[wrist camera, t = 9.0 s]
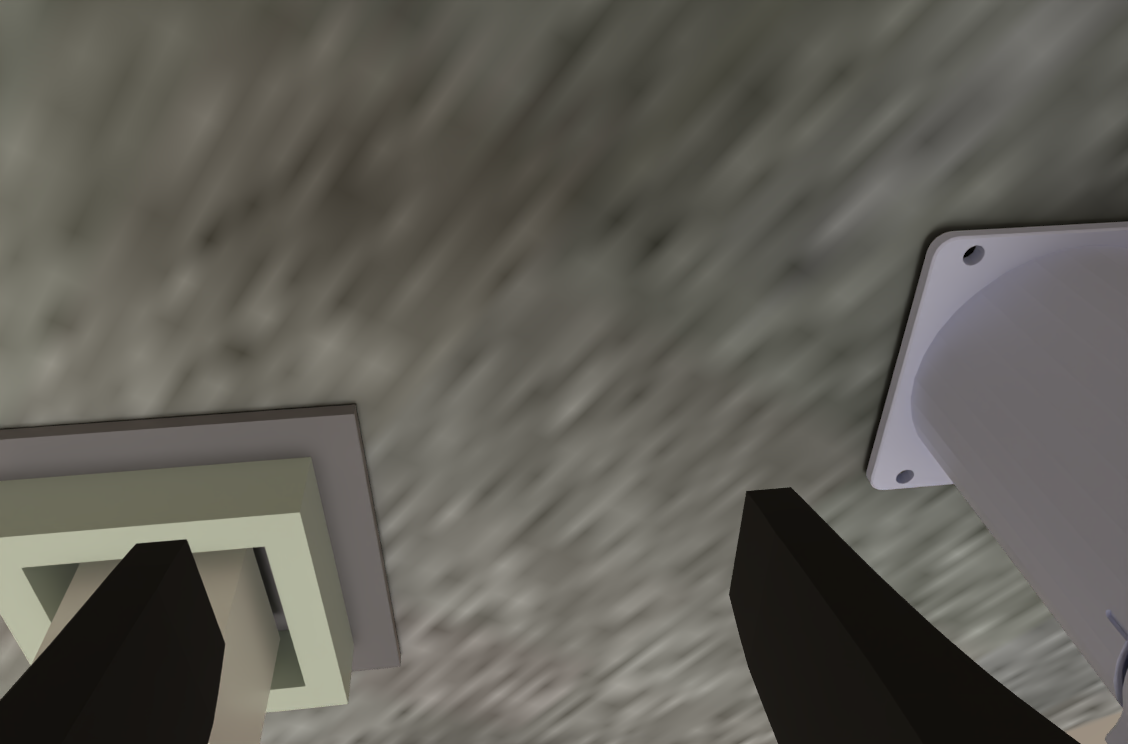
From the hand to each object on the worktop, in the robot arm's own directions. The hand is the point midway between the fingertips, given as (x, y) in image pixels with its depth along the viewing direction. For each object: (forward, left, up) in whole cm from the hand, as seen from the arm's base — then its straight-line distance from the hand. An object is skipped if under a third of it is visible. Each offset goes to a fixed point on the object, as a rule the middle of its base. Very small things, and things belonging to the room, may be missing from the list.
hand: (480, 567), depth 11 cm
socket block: (+8, +9, -9) cm, 15 cm away
